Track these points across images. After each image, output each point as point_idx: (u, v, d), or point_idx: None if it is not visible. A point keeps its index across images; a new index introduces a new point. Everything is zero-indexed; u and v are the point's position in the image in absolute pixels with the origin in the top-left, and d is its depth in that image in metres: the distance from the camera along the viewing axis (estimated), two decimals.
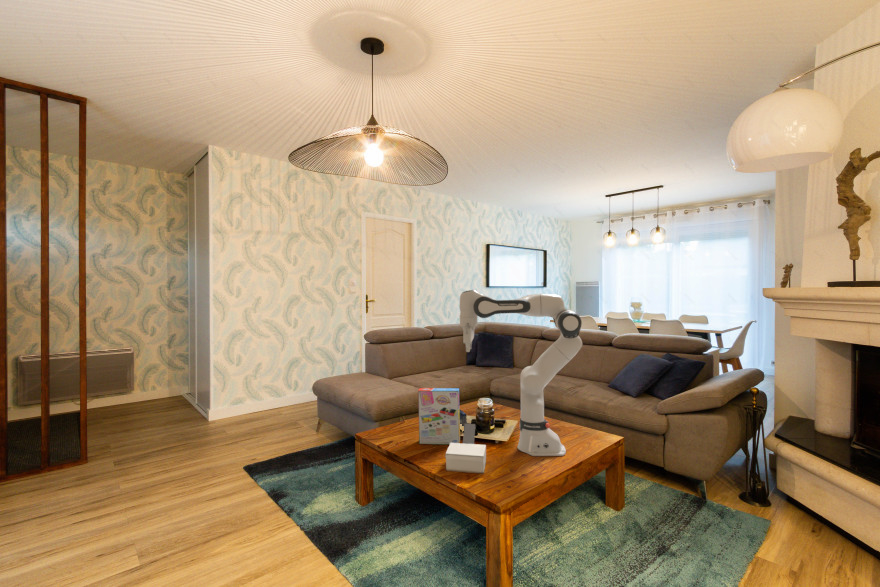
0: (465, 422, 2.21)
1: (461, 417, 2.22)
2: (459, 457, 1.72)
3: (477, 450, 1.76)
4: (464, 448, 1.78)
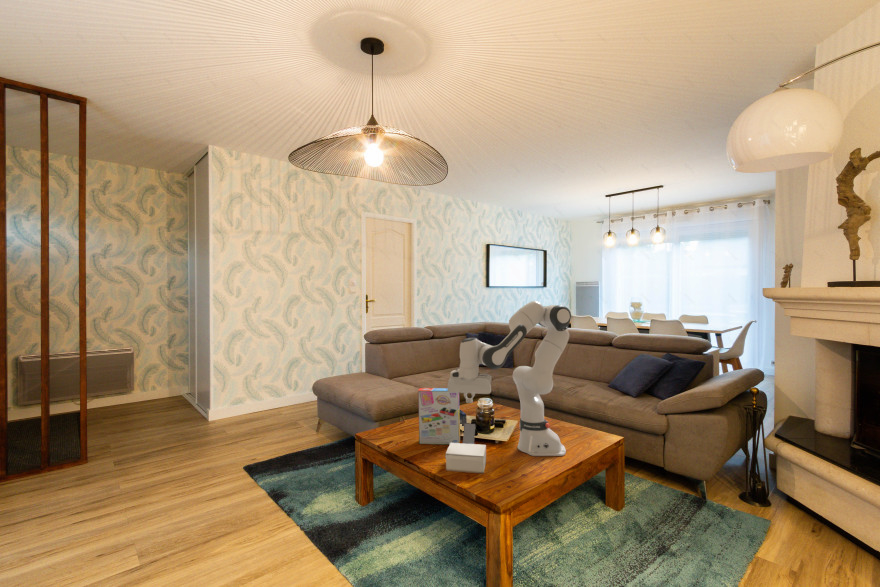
0: (465, 422, 2.21)
1: (461, 417, 2.22)
2: (459, 457, 1.72)
3: (477, 450, 1.76)
4: (464, 448, 1.78)
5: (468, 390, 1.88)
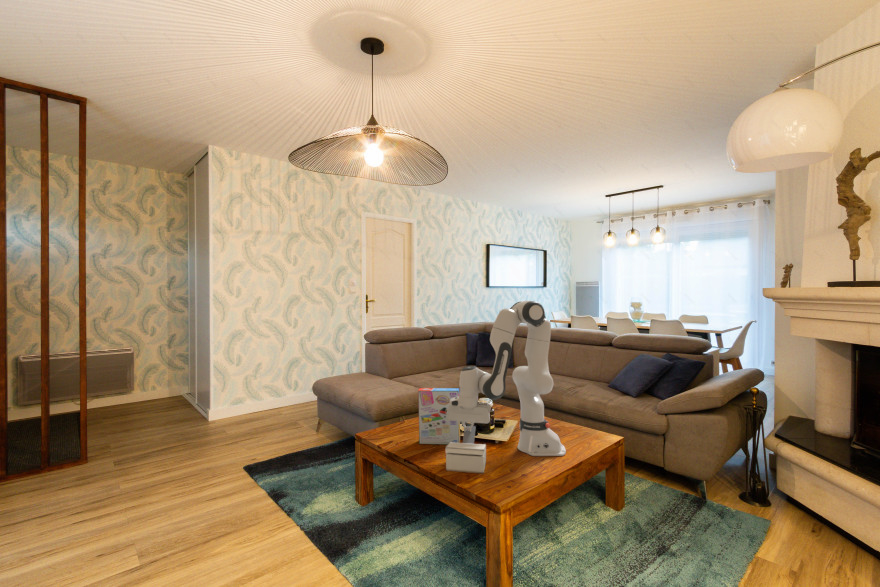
0: (465, 422, 2.21)
1: None
2: (459, 451, 1.72)
3: (477, 446, 1.76)
4: (464, 445, 1.79)
5: (467, 419, 1.88)
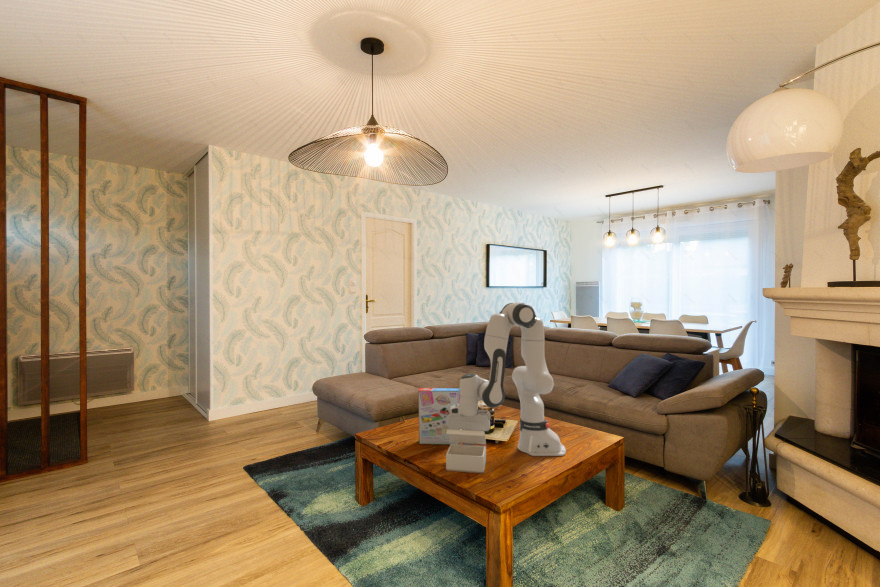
0: None
1: None
2: (460, 432, 1.75)
3: None
4: None
5: (467, 426, 1.88)
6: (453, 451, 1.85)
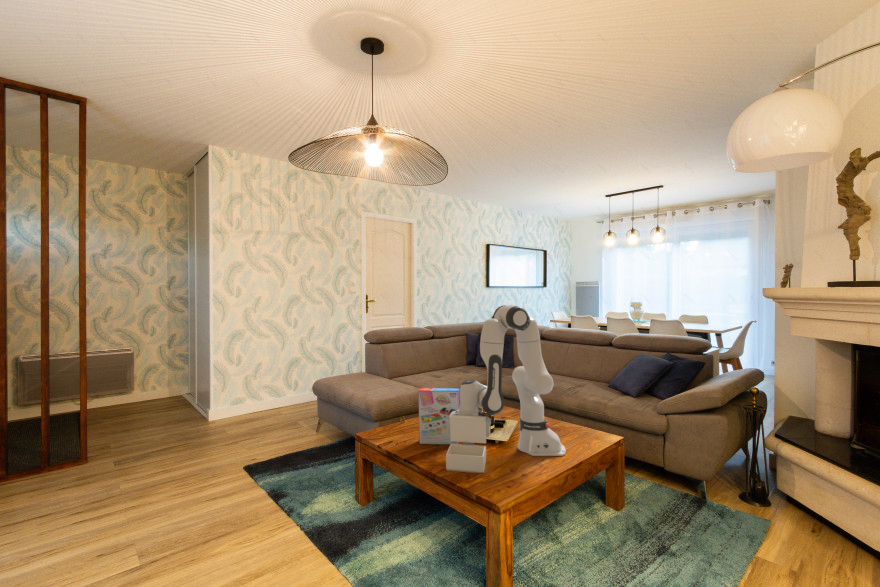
0: None
1: None
2: (462, 416, 1.82)
3: None
4: None
5: None
6: (453, 451, 1.85)
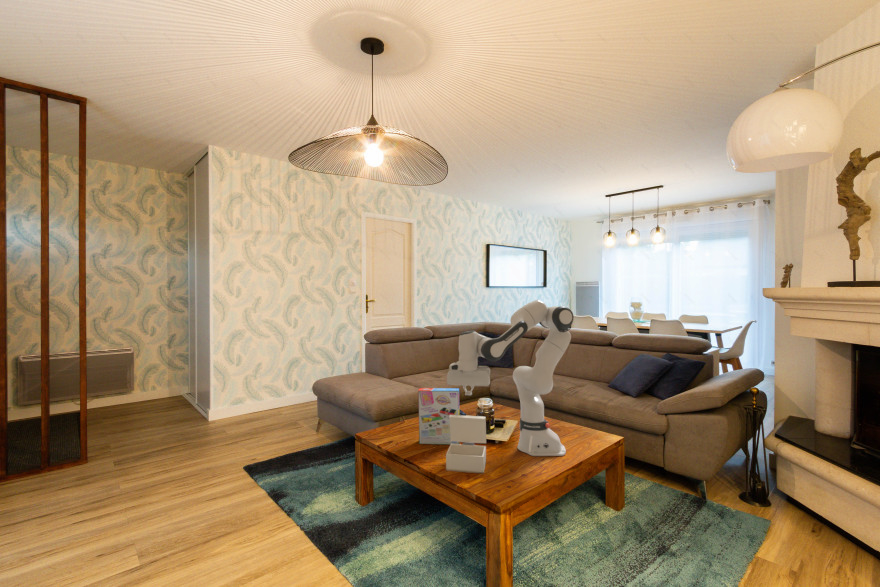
0: None
1: None
2: (462, 416, 1.82)
3: None
4: None
5: (467, 383, 1.89)
6: (453, 451, 1.85)
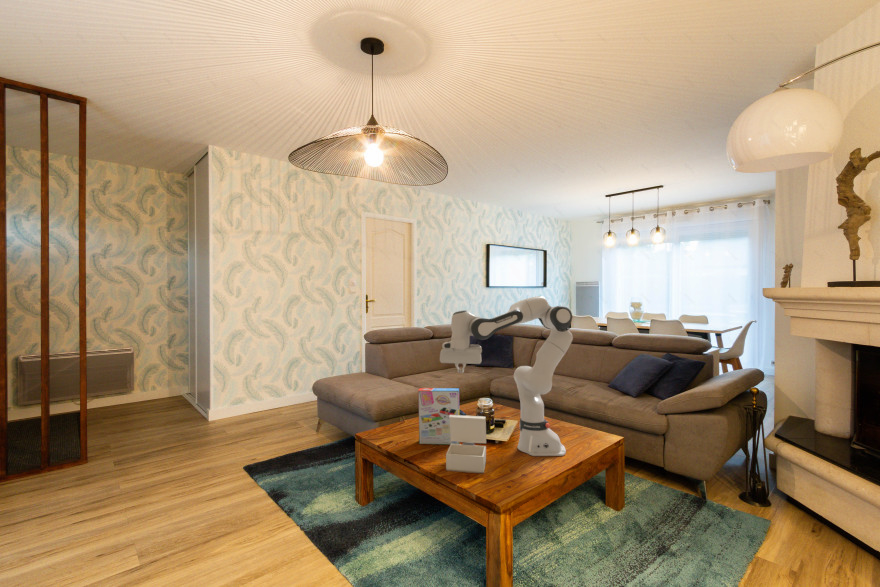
0: None
1: None
2: (462, 416, 1.82)
3: None
4: None
5: (459, 360, 1.96)
6: (453, 451, 1.85)
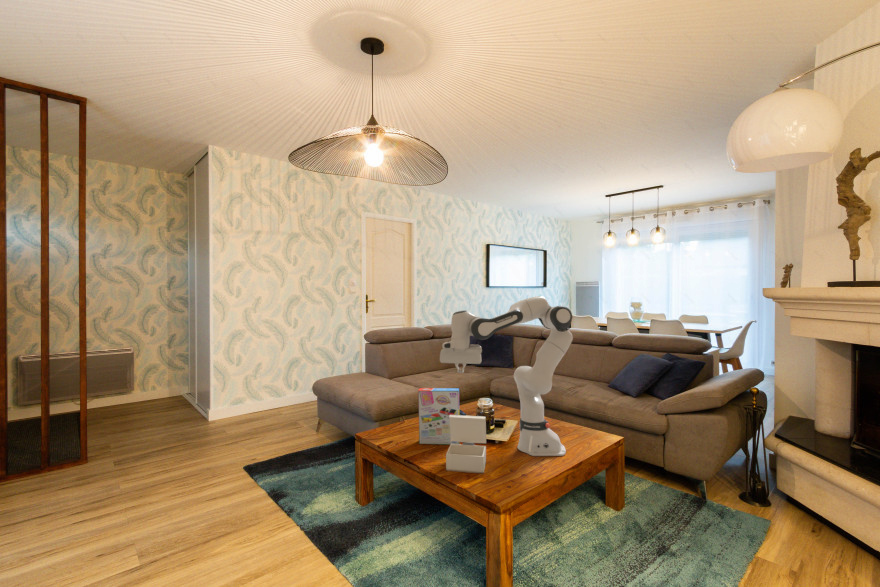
0: None
1: None
2: (462, 416, 1.82)
3: None
4: None
5: (459, 360, 1.96)
6: (453, 451, 1.85)
